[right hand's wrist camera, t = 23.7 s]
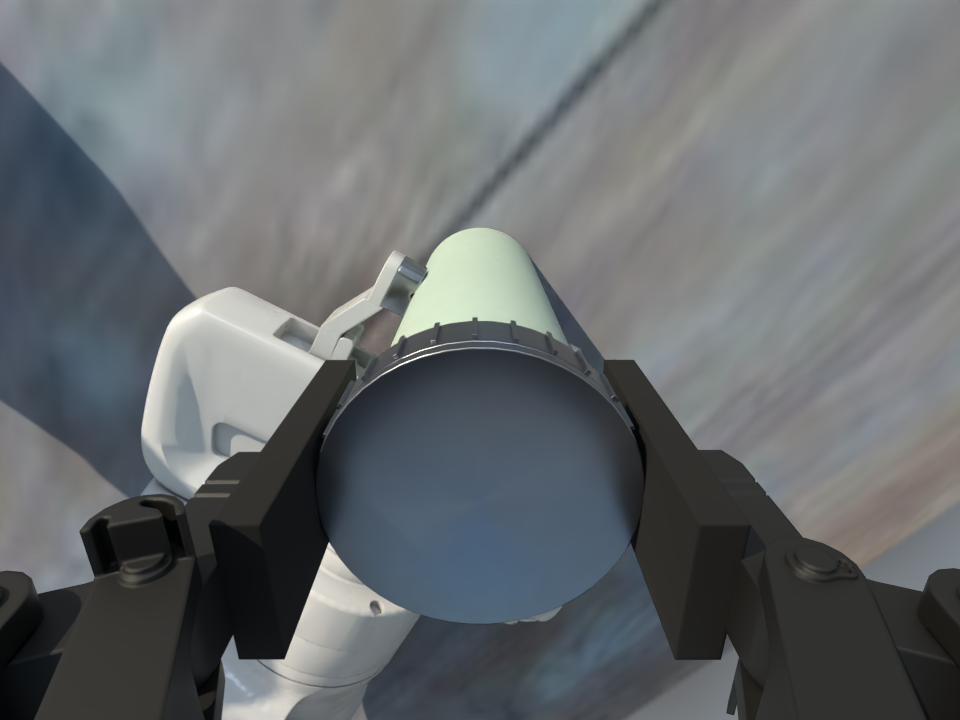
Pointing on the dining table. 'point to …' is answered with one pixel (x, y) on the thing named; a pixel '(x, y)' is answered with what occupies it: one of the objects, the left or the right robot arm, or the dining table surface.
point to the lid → (479, 474)
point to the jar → (480, 286)
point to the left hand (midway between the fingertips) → (489, 303)
